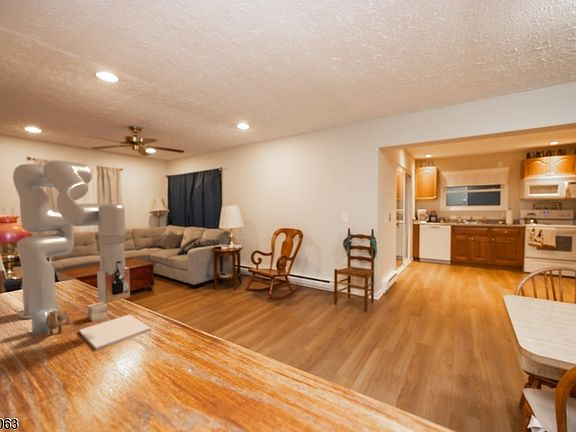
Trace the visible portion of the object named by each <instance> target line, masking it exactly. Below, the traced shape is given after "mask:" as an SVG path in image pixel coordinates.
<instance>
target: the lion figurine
mask: <svg viewBox="0 0 576 432" xmlns="http://www.w3.org/2000/svg"><path fill="white" fill-rule="evenodd" d="M65 320H66V322H65V324H70V322H71V321H70V317H69V312H68V309H67V308H66V307H65V308H64V307H61V308H60V309H58V310H54V311H52V312H51V313H50V314H49V315H48V317H47V321H46V322H47V326H48V329H49V331H48V334H47V336H48V337H53V335H54V330H53V329H57V330H58V331H57V332H58V334H63V333H64V331H63V322H64V321H65Z"/></svg>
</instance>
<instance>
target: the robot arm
mask: <svg viewBox="0 0 576 432" xmlns="http://www.w3.org/2000/svg"><path fill="white" fill-rule="evenodd" d="M12 174H13V175H12V180H13V185H14V188H15V190H16V192H17V194H18V198H19V207H20V209H19V211H20V224H21V227H22V229H23V230H24V231H25V232H28V233H41V232H42V233H43V232H55V233H54V234H52V233H51V234H39V235H38V234H37V235H30V236H26V237H23V238H21V239H20V240H19V241H18V242H17V245H16V248H17V253H18V257H19V262H20V266H21V278H22V280H21V281H22V300H23V310H21V311H20V312H19V313H18V314H17V315H18V318H19V319H26V320H27V319H32V313H33V312H35V311H38V310H44V309H48V310H49V314H50V313H51V312H52V311H54V310H58V309H60V308H62V306H61V304H59V303H57V301H56V300H57V298H56V277H55V267H54V265H53V264H52V263H51V262H50V261H49V260H48V259H49V258H52V257H59V256H60V257H61V256H66V255H69V254H71V253H72V252H73V250H74V248H75V237H74V227H89V226H91V227H92V226H98V245H99V246H100V248H99V249H100V250H99V270H103V271H106V272H107V275H109V276H110V275H111V274H112V279H113V283H112V295H117V294H121V293H123V276H124V272H125V267H126V255H125V248H124V246H125V245H126V219H125V218H126V217H125V206H123V205H122V204H109V203H77V202H76V201H77V200H80V199H81V198H84V196H85V195H87V193H88V192H89V185H88V184H89V183H90V182H91V181H92V179H93V178H92V177H93V173H92V170H91V169H90V168H89V167H88V165H86V164H84V163H81V162H80V163H79V162H74V161H65V160H51V161H48V162H47V163H45V164H36V163H23V164H20V165H18V166H16V167H15V169H14V170H13V173H12ZM41 187H44V188H46V187H47V188H55V189H56V190H57V191H58V192H59V193H58V195H57V198H56V206H57V207H56V208H52V207H50V198H49V196H48V194H47V193H46V191H44V189H42V188H41ZM47 258H48V259H47ZM114 272H118V273H115V274H114ZM117 275H118V276H117ZM115 276H117V277H116V278H115Z"/></svg>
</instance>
